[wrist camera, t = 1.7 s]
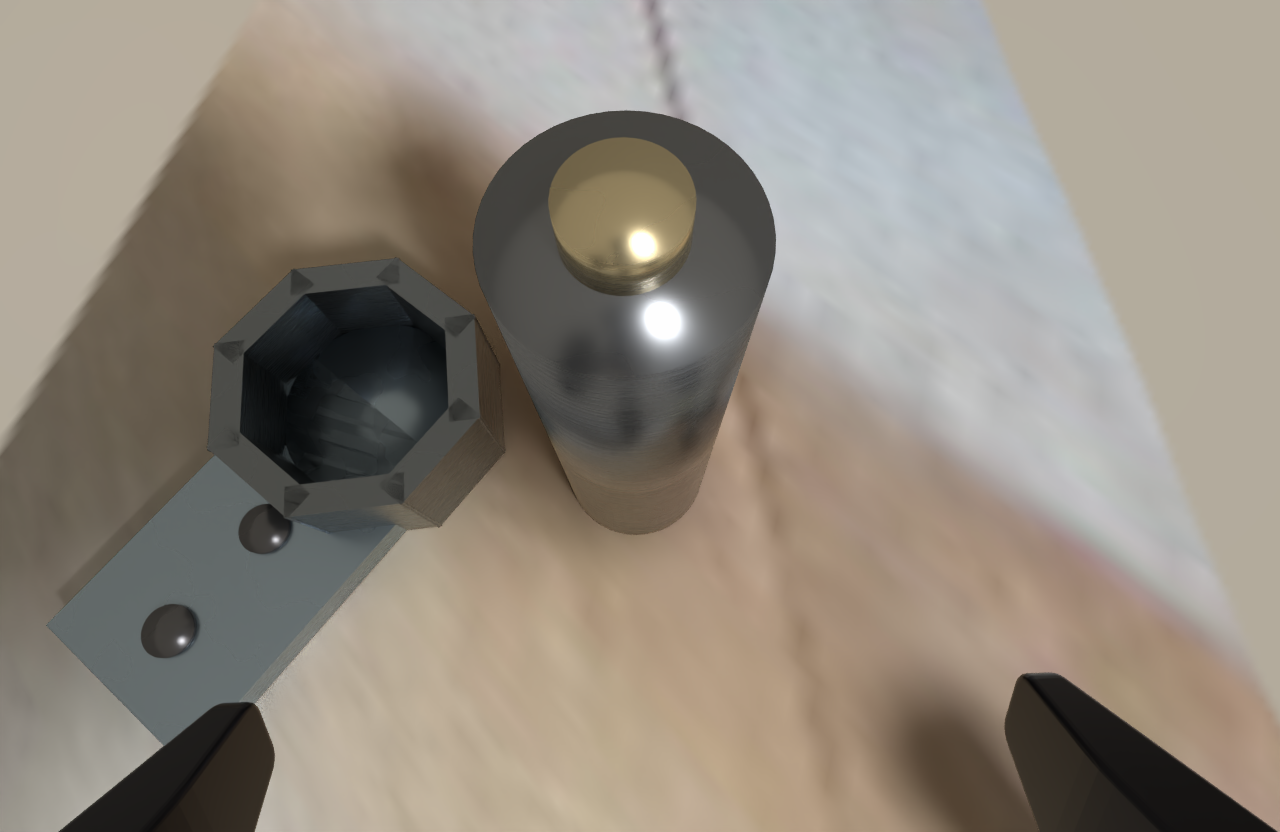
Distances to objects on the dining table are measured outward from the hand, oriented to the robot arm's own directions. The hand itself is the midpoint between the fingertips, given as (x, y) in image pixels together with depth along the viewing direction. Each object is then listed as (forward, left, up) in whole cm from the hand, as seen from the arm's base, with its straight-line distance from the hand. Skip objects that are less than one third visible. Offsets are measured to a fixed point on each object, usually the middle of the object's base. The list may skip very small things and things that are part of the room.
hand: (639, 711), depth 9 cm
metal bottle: (+5, +4, -12) cm, 13 cm away
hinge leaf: (-2, +11, -12) cm, 16 cm away
